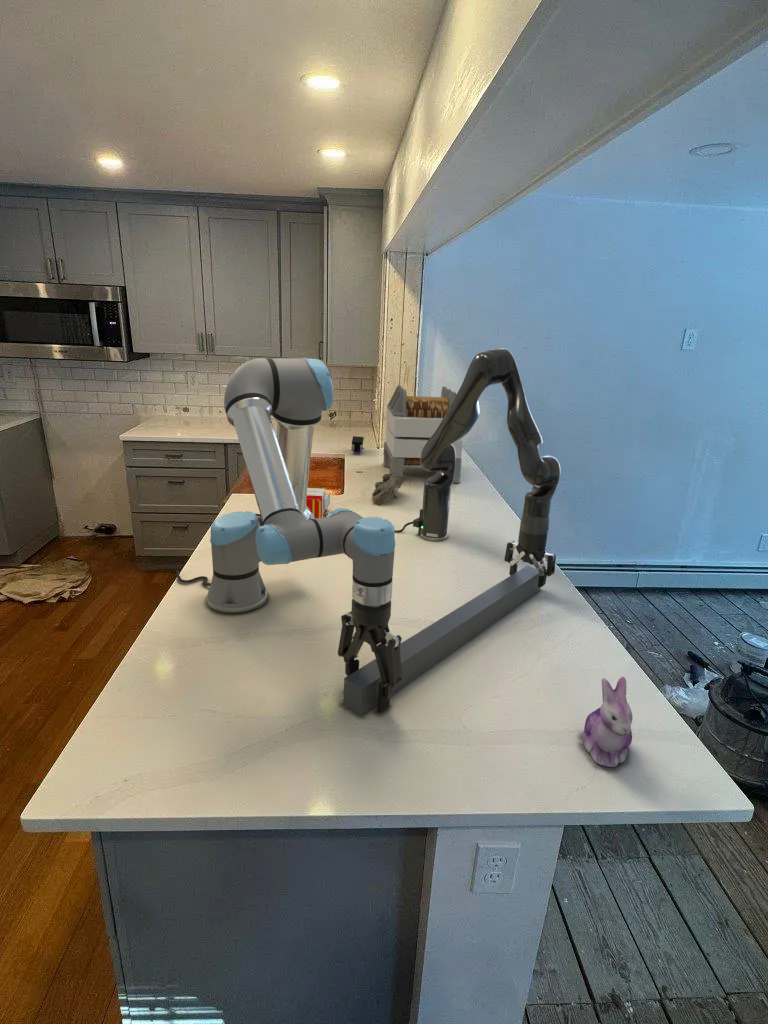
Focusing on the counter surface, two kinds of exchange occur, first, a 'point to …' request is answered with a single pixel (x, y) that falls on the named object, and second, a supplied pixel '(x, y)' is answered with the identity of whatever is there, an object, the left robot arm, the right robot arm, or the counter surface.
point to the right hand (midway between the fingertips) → (526, 581)
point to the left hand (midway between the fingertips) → (367, 698)
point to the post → (442, 637)
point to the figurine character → (357, 444)
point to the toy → (317, 501)
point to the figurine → (609, 726)
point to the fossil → (387, 487)
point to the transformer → (415, 428)
